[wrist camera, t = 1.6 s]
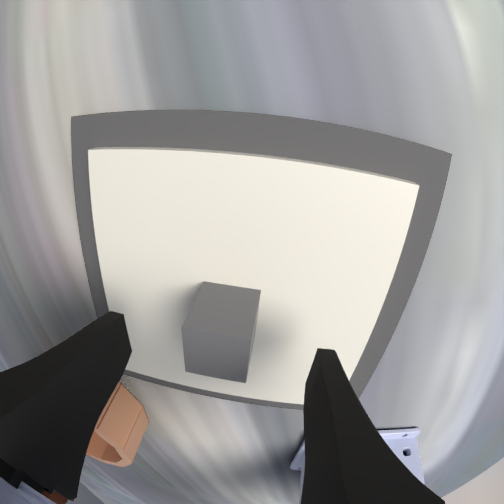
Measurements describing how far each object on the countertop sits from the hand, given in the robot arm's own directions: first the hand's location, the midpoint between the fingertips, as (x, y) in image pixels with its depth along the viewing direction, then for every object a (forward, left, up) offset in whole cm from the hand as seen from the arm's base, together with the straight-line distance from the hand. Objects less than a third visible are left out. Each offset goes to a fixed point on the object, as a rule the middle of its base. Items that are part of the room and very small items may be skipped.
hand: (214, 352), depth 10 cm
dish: (+12, +14, -4) cm, 19 cm away
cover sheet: (0, 0, -3) cm, 3 cm away
